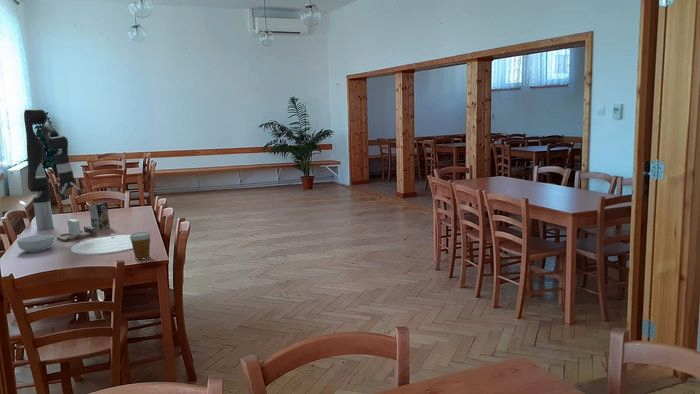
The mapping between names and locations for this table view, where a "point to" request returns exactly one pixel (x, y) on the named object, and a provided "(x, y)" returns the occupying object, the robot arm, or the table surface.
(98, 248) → the lazy susan
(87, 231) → the track
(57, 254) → the table surface
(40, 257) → the table surface
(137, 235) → the beer glass
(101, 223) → the coffee box
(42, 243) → the cereal bowl
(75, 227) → the pale green rectangular block
